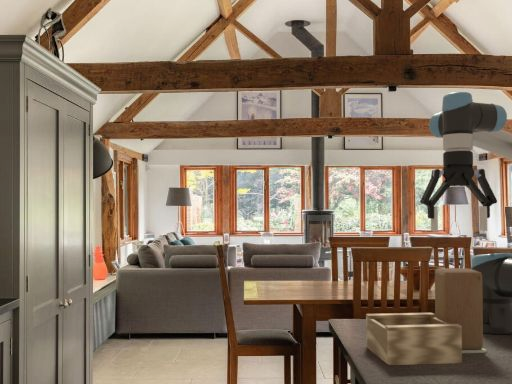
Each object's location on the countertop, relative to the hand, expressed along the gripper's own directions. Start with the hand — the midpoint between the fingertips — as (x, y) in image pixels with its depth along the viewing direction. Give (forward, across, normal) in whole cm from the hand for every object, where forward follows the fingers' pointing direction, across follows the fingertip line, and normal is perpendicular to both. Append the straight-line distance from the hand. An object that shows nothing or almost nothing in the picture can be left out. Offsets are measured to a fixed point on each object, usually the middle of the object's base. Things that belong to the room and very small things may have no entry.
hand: (459, 231), depth 155 cm
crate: (+31, +16, +5) cm, 35 cm away
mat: (+31, 0, 0) cm, 31 cm away
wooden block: (+30, 0, 0) cm, 31 cm away
